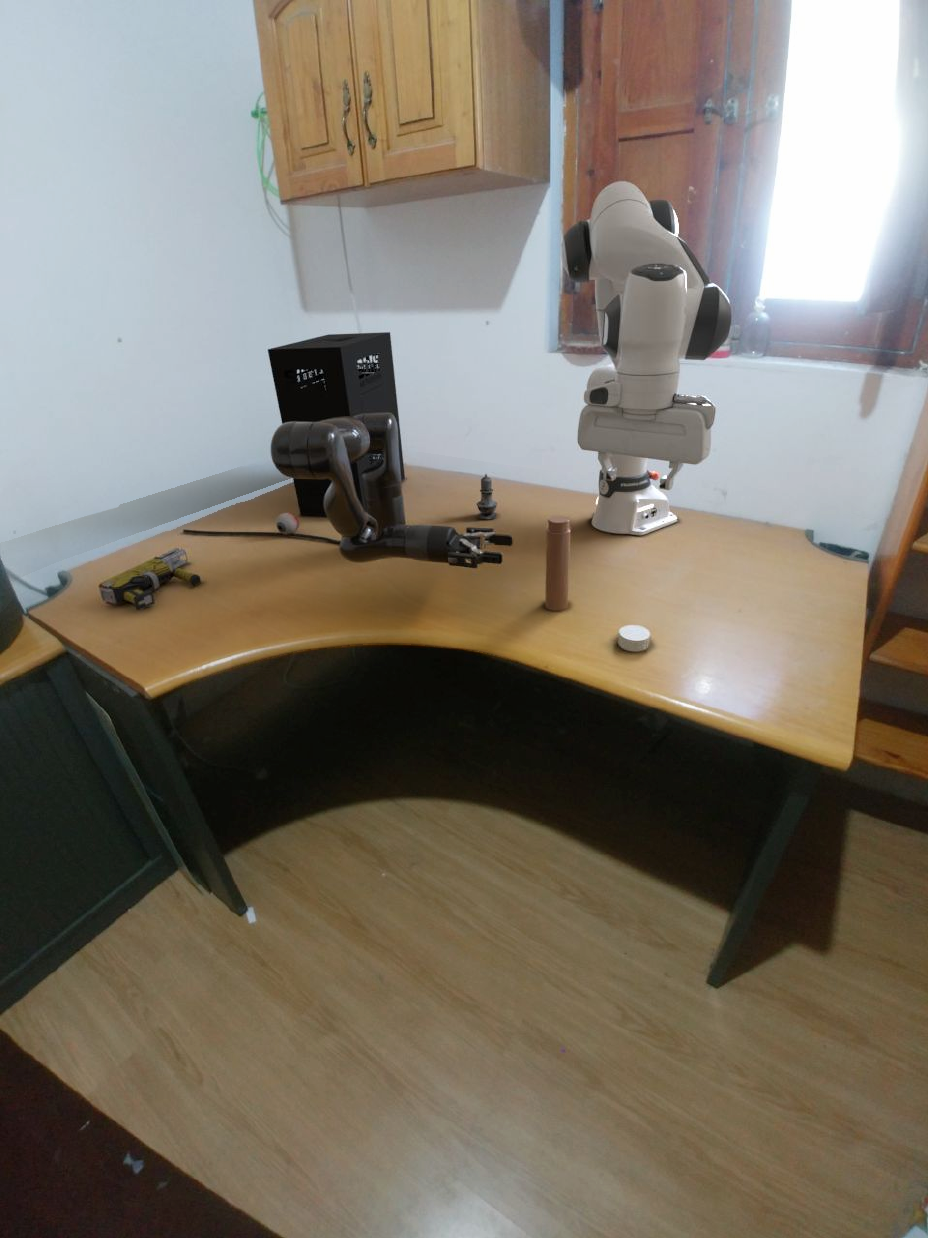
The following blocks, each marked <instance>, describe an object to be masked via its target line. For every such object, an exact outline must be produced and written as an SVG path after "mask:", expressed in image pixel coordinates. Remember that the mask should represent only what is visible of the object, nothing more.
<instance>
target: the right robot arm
mask: <svg viewBox="0 0 928 1238" xmlns="http://www.w3.org/2000/svg"><path fill="white" fill-rule="evenodd" d="M678 235H679V222H678V217H677V215H676V212H675V210H674V207H673V204H671V203H670V202H669V201H668V200H667V199H651V200H649V201H648V199H647V198H646V196H645V195H644V193H643V192H642V191H641V189H639V187H638V186H637V185H636V184H634V183H632V182H630V181H625V180H618V181H615V182H612V183H610V184H608V185H607V186H605V187H604V188H603V189H602V190H601V191H600V192H599V193H598V195H597V196H596V198H595V200H594V202H593V205H592V209H591V214H590V217H589V219H586V220H582V219H581V220H579V221H578V222H577V223H575V224H574V225H572V226H570V227H569V228H568V229H567V231H566V232H565V234H564V235H563V241H562V245H561V261H562V265H563V268H564V270H565V272H566V274H567V275H568V278H569V279H570V280H571V281H572V282H574V283H578V284H579V283H580V284H581V283H584V284H585V283H590V281H592V280H593V281H594V297H595V299H594V301H595V308H596V309H595V310H596V318H597V325H598V326H597V327H598V335H599V343H600V346H601V348H602V349H603V351H604V352H605V353H606V354H607V355H608V356H609V358H610V360H611V362H612V363H607V364H603V365H600V366H597V367H596V368H595V369H594V370H593V371H592V372H591V374H590V375H589V377H588V380H587V383H586V390H585V391H584V392H583V401H584V403H585V404H586V405H584V407H583V408H582V409H581V411H580V414H579V419H578V426H577V444H578V446H579V448H580V449H581V450H583V451H591V452H595V453H597V460H598V462H599V464H600V466H601V468H600V470H599V474H598V492H599V493H598V496H597V498H596V501H595V505H596V507H595V511H594V514H593V517H592V520H591V525H592V526H593V527H594V528H595V529H597V530H599V531H601V532H605V533H611V534H623V535H625V534H626V535H632V536H633V535H634V536H645V535H646V534H650V533H652V532H654V531H657V530H660V529H662V528H665V527H668V526H670V525H672V524H675V523H677V522H678V516H677V515H676V514H675V513H674V512H672V511H670V503H669V502H670V501H669V498H668V497H667V496H666V495H665V494H664V493H663V492H661V491H660V490H665V491H670V490H671V489H672V488H673V487H674V480H675V477H676V476H677V474H678V473H679V472H680V471H681V469H682V468H683V467H684V464H686V465H694V466H695V465H698V464H700V463H702V462H703V461H705V460H706V459H707V458H708V457H709V455H710V453H711V445H712V427H713V426H714V424H715V417H716V409H717V408H716V406H715V404H714V403H713V402H712V400H710V399H708V397H707V396H703V395H697V396H696V395H688V394H680V393H679V380H680V373H681V363H680V360H681V359H684V360H688V361H689V360H691V361H705V360H707V359H708V358H709V357H711V356H712V355H713V354H714V353H715V352H717V351H718V350H719V349H720V348H721V347H722V346H723V345H724V344H725V342H726V341H727V339H728V337H729V334H730V331H731V325H732V307H731V303H730V300H729V298H728V297H727V295H726V294H725V293H724V291H723V290H722V289H721V287H719V286H718V285H717V284H715V283H713V282H712V281H711V279H710V278H709V276H708V274H707V273H706V271H705V270H704V268H703V267H702V265H701V263H700V261H699V260H698V259H697V257H696V255H695V253H694V252H693V251H692V249H691V248H690V247H689V245H688V244H687V242H685V240H683V238H680V237H679V236H678ZM650 459H651V460H657V461H663V462H664V461H665V462H668V468H669V469H671V470H670V471H669V473H668V474H667V475H663V476H661V477H660V473H659V472H657V471H654V470H651V471H649V470H648V469H647V466H648V460H650ZM658 479H659V483H660V484H659V487H658V488H659V489H660V490H659V489H658V488H656V487H655V486H654V485H652V483H651V480H653V481H658Z"/></svg>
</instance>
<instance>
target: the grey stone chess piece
mask: <svg viewBox="0 0 928 1238" xmlns="http://www.w3.org/2000/svg"><path fill="white" fill-rule="evenodd" d="M479 492H480V496H481V497H480V501H478V502H476V507H477V510H478V511H479V512H480V513H479V514H478V515H477V517H478V518H479V519H481V520H492V519H495V518H496V517H497V513H495V511H496V510H497V506H498V501H496V500H494V499H493V492H494V489H493V487H492V478H491V477H489V476H488V474H487V473H485V474H484V476H483V477H482V478H481V479H480V490H479Z"/></svg>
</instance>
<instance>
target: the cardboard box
mask: <svg viewBox="0 0 928 1238" xmlns="http://www.w3.org/2000/svg"><path fill="white" fill-rule="evenodd" d="M267 353H268V359H269V363H270V369H271V374H272V378H273V384H274V385H273V386H274V390H275V394H276V399H277V403H278V404H277V405H278V410H279V414H280V419H281V425H282V424H284V423H286V422H291V421H298V422H299V421H300V422H318V421H322V420H326V419H330V418H334V417H341V416H350V417H351V416H353V415H355V414H359V413H378V412H389V413H392V414H393V415H394V417H395V419H396V422H397V428H398V445H399V460H400V473H401V482H402V481H404V480H405V479H406V475H405V465H404V455H403V446H402V445H403V444H402V435H401V425H400V416H399V406H398V395H397V387H396V377H395V367H394V366H395V365H394V358H393V357H394V356H393V347H392V338H391V332H390V331H386V332H362V333H361V332H359V333H356V332H355V333H333V334H331V333H329V334H325V335H321V336H317V337H313V338H309V339H305V340H301V341H297V342H293V343H288V344H284V345H280V346H276V347H272V348H268V349H267ZM370 358H371V359H370ZM364 359H365V361H364ZM360 360H361V362H359V361H360ZM383 460H384V455H383V454H366V455H365V456H364V457H363V458H362V459H360V460H359V461H357V462H355V463H352V464H350V466H351V471H352V475H353V481H354V486H355V490H356V493H357V496H358V498H359V501H360V503H361V505H362V507H363V509H364V511H367V510H366V502H365V496H364V488H363V481H362V473H363V471H364V470H366V469H367V468H369V467H372V466H374V465H377V464H379V463H380V462H382V461H383ZM292 481H293V485H294V490H295V496H296V500H297V506H298V511H299V515H300V516H307V517H308V516H309V517H327V515H326V513H325V510H324V504H323V502H324V496H325V493H326V491H327V490H328V488H329V486H330V484H331V483H332V481H331V480H330V479H295V478H292Z"/></svg>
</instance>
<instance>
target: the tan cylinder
mask: <svg viewBox="0 0 928 1238" xmlns="http://www.w3.org/2000/svg"><path fill="white" fill-rule="evenodd" d="M547 522H548V525H547V526H548V527H547V528H546V534H545V535H546V537H545V539H546V541H545V542H546V543H545V589H544V590H545V594H544V599H545V600H544V606H545V608H546V609H548V610H550V611H555V612H558V611H564V610H566V609H567V608H568V607H569V580H570V558H571V557H570V555H571V553H570V552H571V533H572V532H571V531H572V529H571V527H570V517H568V516H565V515H561V514H560V515H552V516H550V517H548V519H547Z"/></svg>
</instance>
